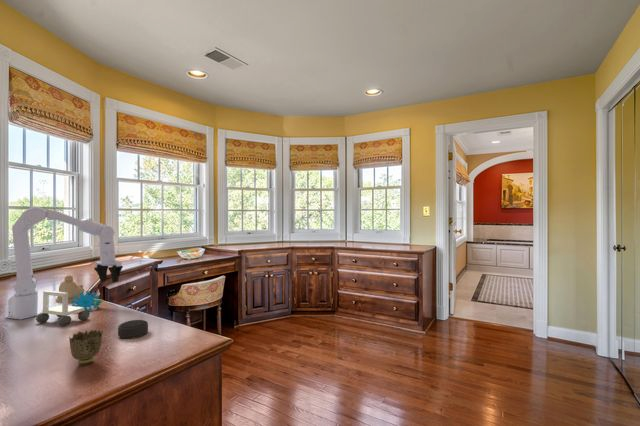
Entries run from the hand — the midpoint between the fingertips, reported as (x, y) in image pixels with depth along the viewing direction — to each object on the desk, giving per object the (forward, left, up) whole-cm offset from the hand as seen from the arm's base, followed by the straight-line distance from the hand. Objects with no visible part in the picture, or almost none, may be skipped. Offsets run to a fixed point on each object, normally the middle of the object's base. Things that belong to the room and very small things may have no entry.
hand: (109, 281), depth 148 cm
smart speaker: (+42, -26, -11) cm, 51 cm away
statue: (-25, +1, -11) cm, 28 cm away
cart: (+5, -23, -10) cm, 26 cm away
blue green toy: (-1, -9, -11) cm, 14 cm away
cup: (+48, -47, -11) cm, 68 cm away
